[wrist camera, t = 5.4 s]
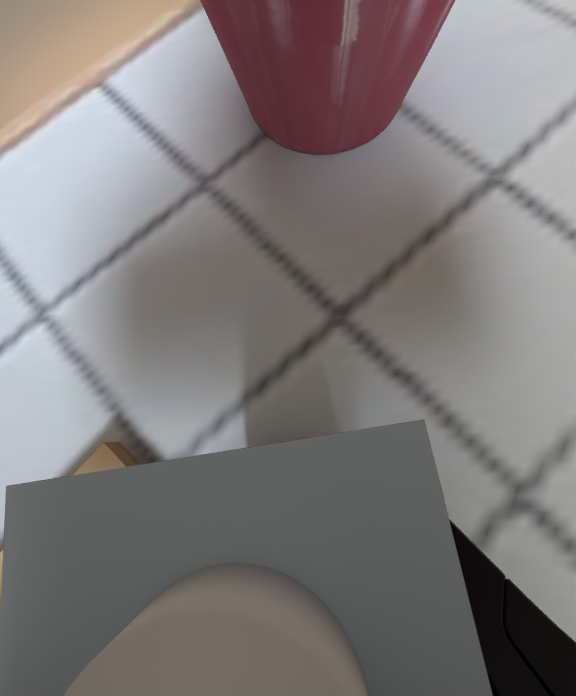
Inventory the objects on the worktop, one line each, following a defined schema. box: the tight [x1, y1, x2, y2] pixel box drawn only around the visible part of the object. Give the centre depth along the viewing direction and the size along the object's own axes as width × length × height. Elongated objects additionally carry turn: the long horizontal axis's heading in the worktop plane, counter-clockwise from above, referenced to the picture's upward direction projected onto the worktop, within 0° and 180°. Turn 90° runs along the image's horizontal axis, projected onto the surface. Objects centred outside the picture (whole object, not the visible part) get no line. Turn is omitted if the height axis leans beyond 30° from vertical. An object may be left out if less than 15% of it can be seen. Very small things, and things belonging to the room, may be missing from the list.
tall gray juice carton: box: [0, 420, 493, 696], centre depth 9 cm, size 4×4×13 cm
